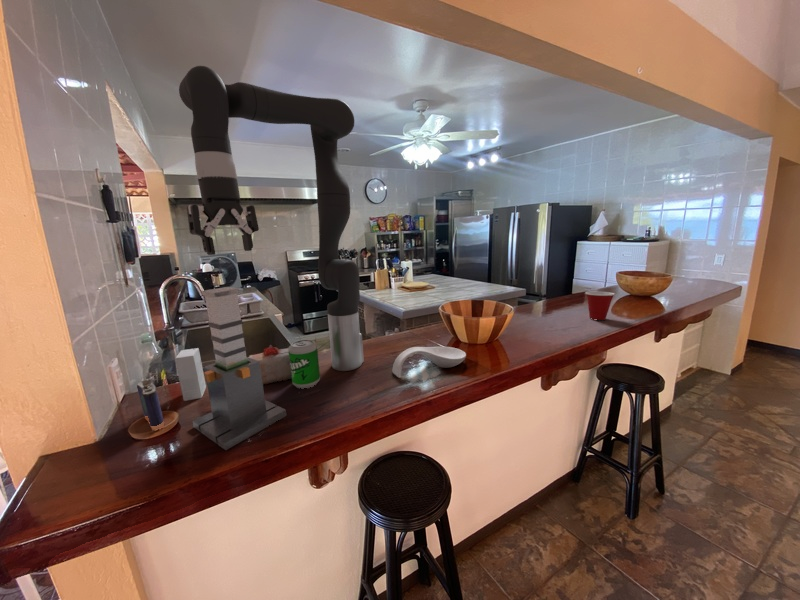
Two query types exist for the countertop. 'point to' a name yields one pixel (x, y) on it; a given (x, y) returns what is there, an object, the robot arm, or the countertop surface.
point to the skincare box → (190, 374)
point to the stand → (236, 405)
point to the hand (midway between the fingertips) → (230, 252)
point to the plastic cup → (599, 304)
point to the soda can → (304, 363)
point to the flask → (150, 402)
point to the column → (226, 327)
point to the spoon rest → (431, 357)
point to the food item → (274, 364)
